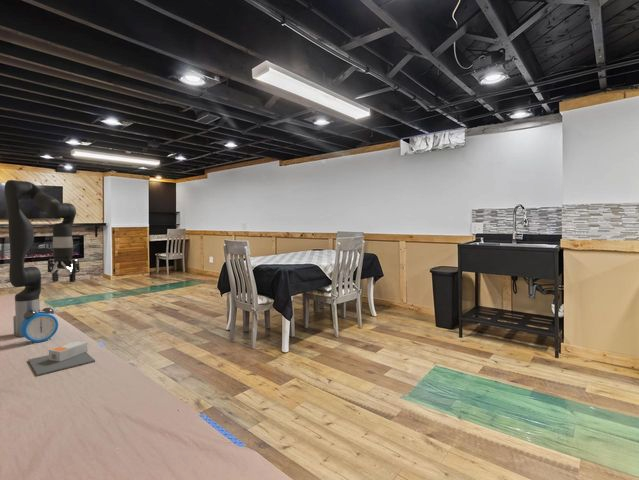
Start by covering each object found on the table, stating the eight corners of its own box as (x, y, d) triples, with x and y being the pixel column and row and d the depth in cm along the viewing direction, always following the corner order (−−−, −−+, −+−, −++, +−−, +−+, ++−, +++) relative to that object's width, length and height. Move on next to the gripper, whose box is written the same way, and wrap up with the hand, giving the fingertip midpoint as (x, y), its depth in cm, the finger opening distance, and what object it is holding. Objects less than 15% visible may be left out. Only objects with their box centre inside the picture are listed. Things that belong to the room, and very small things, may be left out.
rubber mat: (28, 360, 138) (28, 359, 138) (81, 349, 151) (81, 347, 151) (37, 376, 125) (37, 374, 125) (95, 361, 138) (95, 360, 138)
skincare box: (48, 349, 137) (77, 340, 149) (48, 360, 137) (77, 350, 149) (59, 351, 135) (88, 341, 147) (60, 362, 136) (88, 351, 147)
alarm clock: (23, 346, 155) (22, 312, 154) (20, 343, 158) (19, 310, 158) (59, 338, 165) (58, 307, 165) (54, 335, 169) (53, 305, 168)
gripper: (83, 246, 161) (84, 280, 162) (56, 245, 163) (57, 280, 164) (69, 247, 154) (70, 283, 154) (41, 246, 156) (42, 282, 156)
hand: (63, 281), depth 159 cm, fingers open, 8 cm apart
